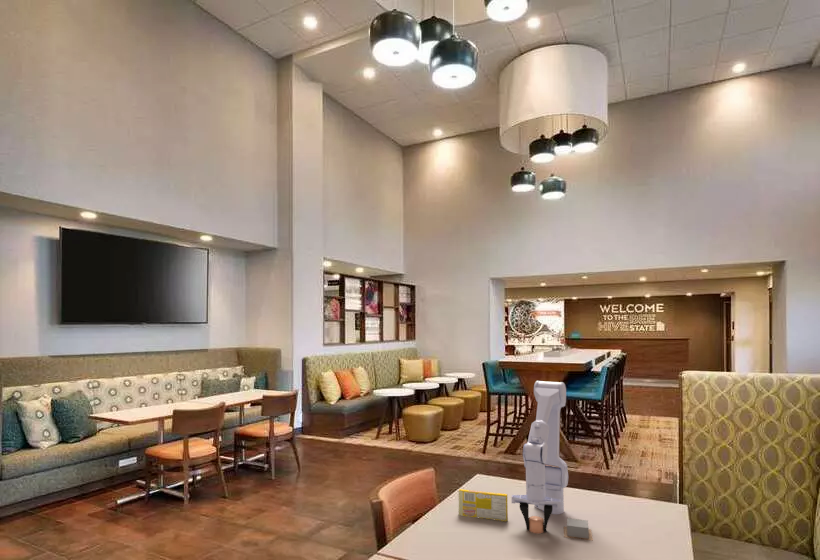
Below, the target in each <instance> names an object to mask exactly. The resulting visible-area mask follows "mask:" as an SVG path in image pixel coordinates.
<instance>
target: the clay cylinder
mask: <svg viewBox="0 0 820 560" xmlns="http://www.w3.org/2000/svg"><path fill="white" fill-rule="evenodd" d="M528 531H529V532H531V533H533V534H543V533H545V532H544V517H542V516H541V517H540V516H537V515H532V516H530V517H529V530H528Z"/></svg>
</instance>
